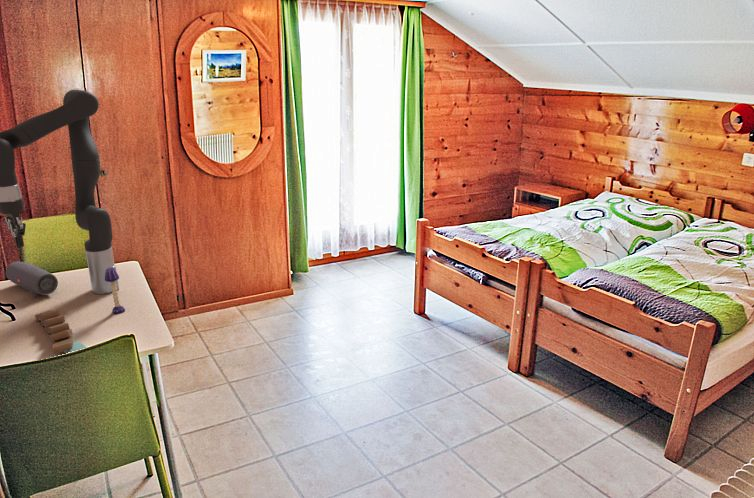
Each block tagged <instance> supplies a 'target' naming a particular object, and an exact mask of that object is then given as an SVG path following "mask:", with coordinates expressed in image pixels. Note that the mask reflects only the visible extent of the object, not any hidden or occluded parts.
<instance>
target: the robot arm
mask: <svg viewBox="0 0 754 498" xmlns="http://www.w3.org/2000/svg"><path fill="white" fill-rule="evenodd" d="M62 104H63V105H61V106H59V107H57V108H55V109H52V110H49V111H47V112H45V113H41V114H38V115H36V116H35V115H34V116H33V117H30V118H28V119H26V120H24V121H22V122H21V123H20V122H19V124H16V125H15V126H13V127H11V128H9V129H6V130H3V131H1V132H0V214H1V215H5V217H3V221H4V223H5V226H6V228H7V229H8V231H9V234H11V236H12V237H13V241H14V245H15V247H17V248H21V247H24V246H25V243H24V239H23V236H25V234H26V233H25V232H26V226H27V224H26V223H25V222H24V223H23V217H22V216H21V214H20V213H21V212H23V211H24V210H25V204H24V201H23V195H22V191H21V188H20V185H19V183H18V177H17V173H16V156H15V151H14V150H16V149H18V148H24V147H27V146H30V145H31V144H33V143H35V142H38V140H41V139H43V138H44V137H46V136H48V135H50V134H51V133H54V132H55V131H57V130H59V129H61V128H63V127H65V126H67V130H68V136H69V148H70V160H71V166H72V167H71V169H72V176H73V185H74V194H75V196H74V197H75V200H74V202H75V204H74V205H75V207H74V209H75V211H74V216H75V223H76V225H77V226H78V227H79V228H80V229H81V230H84V231H87V232H88V236H89V239H87V240H86V241H85V242H84V244H83V245H84V251H85V257H86V262H87V267H88V269H87V270H88V273H89V279H90V285H91V290H92V293H93V294H97V295H102V294H110V293H112V292H113V291H112V287H111V283H110V282H107V281H105V271H106V269H107V268H110V267H113V268H115V270H116V271H117V267H116V264H115V259H114V252H113V246H112V245H113V244H112V241H113V228H112V227H113V226H112V220H111V216H110V214H109V212H108V211H107V209H103V208H101V207H97V204H96V198H95V192H96V188H97V187H96V186H97V184H98V181H99V179H100V174H101V161H100V154H99V150H98V147H97V145H96V143H95V140H94V138H93V136H92V133H91V130H90V129H91V128H90V122H89V118H90V117H92V116H94V115H95V114H96V113H97V111H98V110H99V106H100V103H99V99H98V98H97V96H96V95H95V94H94V93H93V92H90V91H87V90H84V89H83V90H81V89H71V90H68V91H67V92H66V93H65V95H64V96H63V100H62ZM118 280H119V279H118ZM118 280H116V282H115V283H116V287H117V291H118V290H120V286H119V281H118Z"/></svg>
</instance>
